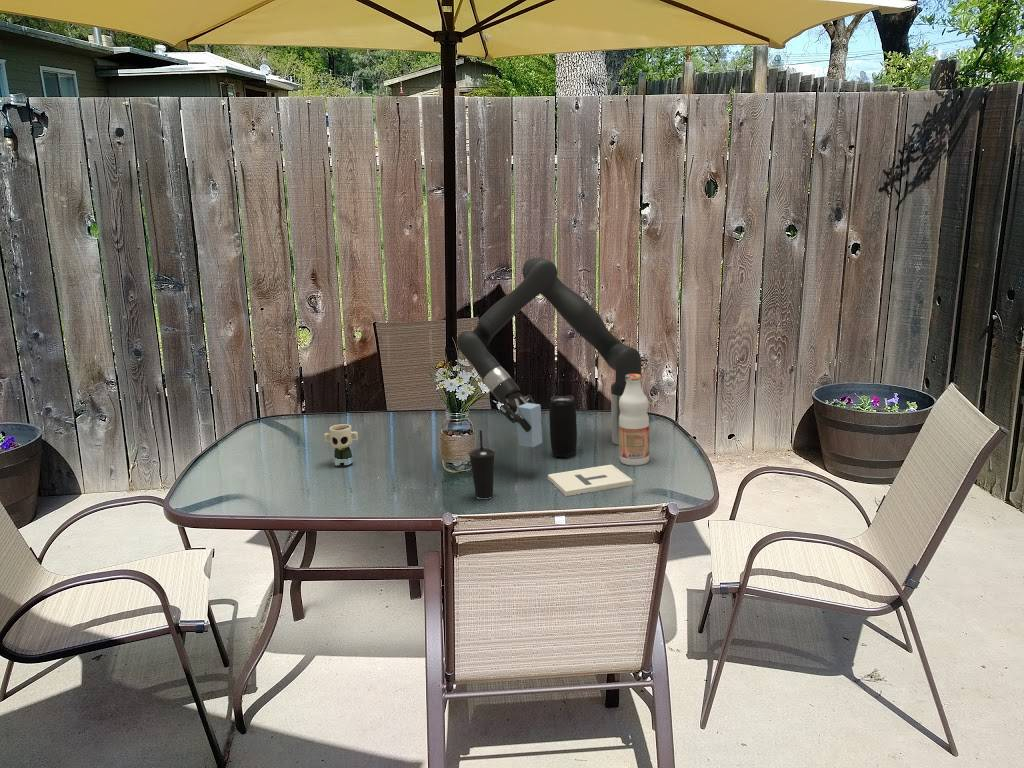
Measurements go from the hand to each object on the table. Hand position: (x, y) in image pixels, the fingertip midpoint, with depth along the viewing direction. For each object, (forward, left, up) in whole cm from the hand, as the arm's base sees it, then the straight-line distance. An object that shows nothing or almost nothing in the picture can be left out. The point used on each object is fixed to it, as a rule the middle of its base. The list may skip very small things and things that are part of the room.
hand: (534, 427), depth 244 cm
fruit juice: (-33, 0, -16) cm, 37 cm away
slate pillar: (+1, -2, -5) cm, 6 cm away
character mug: (+54, -38, -16) cm, 68 cm away
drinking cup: (+19, +9, -16) cm, 26 cm away
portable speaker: (-15, -15, -16) cm, 27 cm away
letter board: (-13, +11, -16) cm, 23 cm away
